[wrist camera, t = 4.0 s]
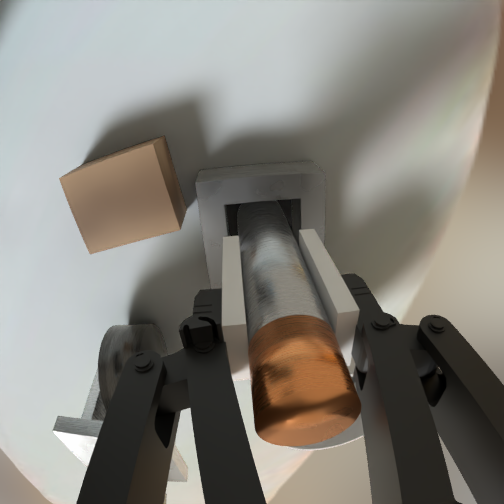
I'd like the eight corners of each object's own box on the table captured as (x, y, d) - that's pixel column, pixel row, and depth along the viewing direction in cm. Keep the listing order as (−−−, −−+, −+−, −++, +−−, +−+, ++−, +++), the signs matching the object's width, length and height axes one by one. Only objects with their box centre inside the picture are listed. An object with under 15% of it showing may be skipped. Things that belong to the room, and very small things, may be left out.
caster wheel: (95, 305, 24) (35, 448, 12) (177, 300, 24) (152, 465, 12) (131, 386, 28) (107, 509, 16) (200, 385, 28) (196, 517, 17)
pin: (235, 196, 20) (251, 398, 7) (282, 193, 21) (370, 379, 7) (238, 239, 22) (257, 451, 9) (283, 235, 22) (352, 436, 9)
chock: (82, 164, 19) (59, 178, 16) (165, 135, 19) (152, 143, 15) (107, 230, 21) (90, 254, 18) (187, 208, 21) (180, 229, 18)
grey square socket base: (199, 170, 19) (195, 182, 17) (312, 160, 20) (325, 172, 17) (213, 268, 23) (211, 292, 20) (312, 258, 23) (322, 281, 20)
